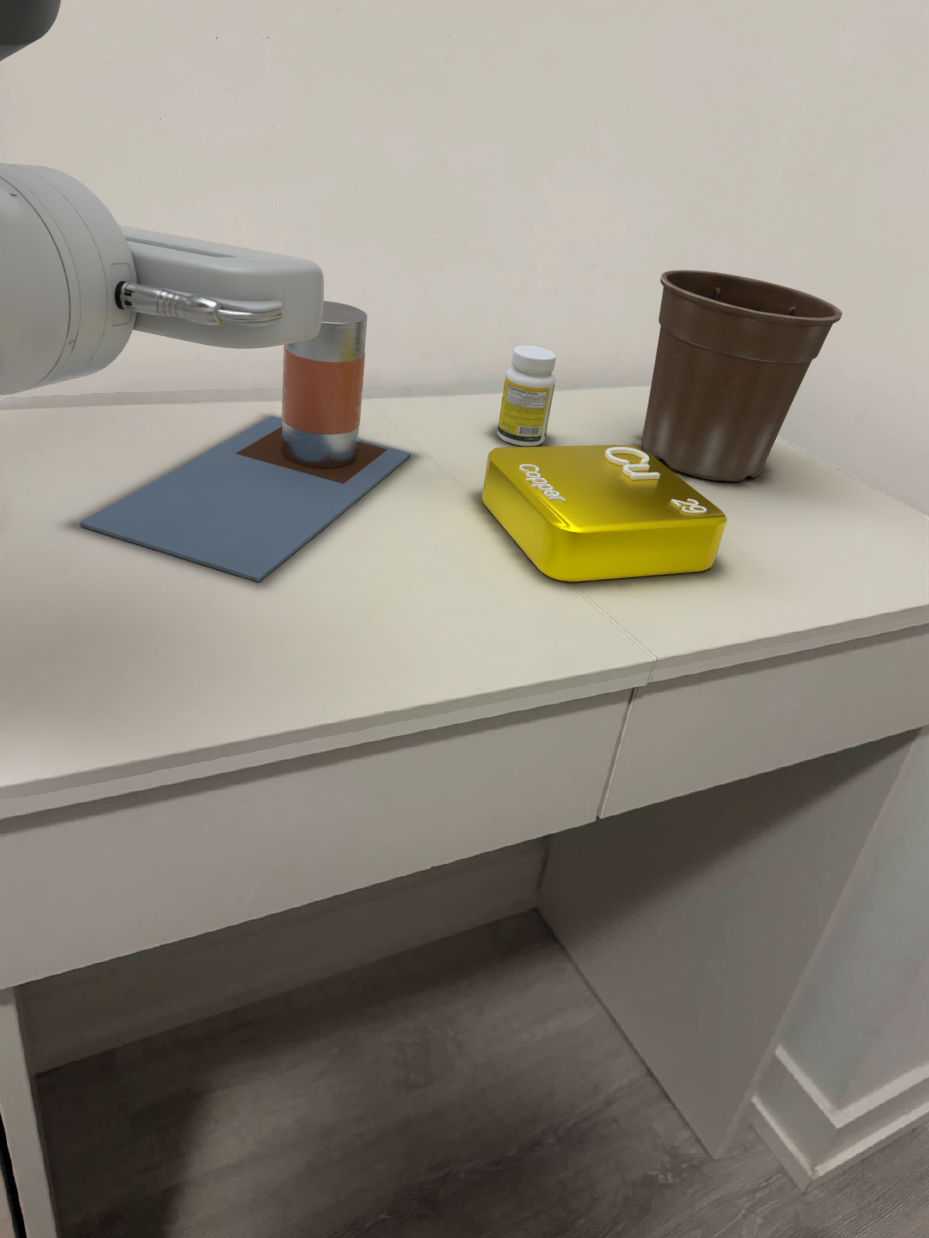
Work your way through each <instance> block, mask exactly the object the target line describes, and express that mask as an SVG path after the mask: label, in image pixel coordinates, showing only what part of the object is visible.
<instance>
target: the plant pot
mask: <svg viewBox="0 0 929 1238" xmlns="http://www.w3.org/2000/svg"><path fill="white" fill-rule="evenodd" d="M659 281H660V284H661V285H662V294H661V300H660V308H659V313H658V315H659V316H658V323H659V325H660V328H659V333H658V334H659V335H658V340H657V346H656V353H655V361H654V365H653V366H654V367H653V370H652V371H653V372H652V376H651V377H652V378H651V384H650V388H649V395H648V401H647V407H646V412H645V418H644V423H643V429H642V434H641V438H640V439H641V440H640V443H641V447H642V449H643V450H644V451H646V452H647V453H649V454H651V455H652V456H653V457H654V458H656V459H657V460H660V459H662V460H663V462H665V464H666V465H667V466H668V468H669V469H671V470H675V471H678V472H681V473H683V474H684V473H685V474H687V475H691V476H692V477H695V478H699V479H703V480H704V479H705V480H711V481H723V482H741V481H743V480H744V479H746V478H747V477H749V478H751V479H755V478H757V477H758V476H759V475H760V474H761V473H762V472H763V469H764V467H765V465H766V462H767V460H768V458H769V456H770V453H771V451H772V448H773V446H774V444H775V442H776V439H777V437H778V435H779V433H780V430H781V428H782V426H783V424H784V422H785V420H786V418H787V416H788V413H789V411H790V408H791V407H792V404H793V402H794V400H795V397H796V396H797V394H798V391H799V389H800V387H801V385H802V383H803V381H804V379H805V376H806V374H807V372H808V370H809V368H810V366H811V363H812V362H813V360H814V359H816V358H818V357H819V355H820V352H821V350H822V348H823V346H824V344H825V341H826V340H827V337H828V335H829V333H830V331H831V329H832V327H833V325H834V324H836V323H838V322H839V321H840V320H841V318H842V316H843V312H842V310H841V309H840V308H839V307H838V306H836V305H834V304H833V303H831V302H828V301H827V300H825V299H822V298H820V297H817V296H815V295H813V294H811V293H808V292H806V291H805V292H804V291H802V290H799V289H795V288H791V287H788V286H784V285H781V284H777V283H773V282H769V281H766V280H765V281H764V280H761V279H756V278H751V277H747V276H740V275H735V274H732V273H731V274H730V273H724V272H717V271H710V270H698V269H697V270H695V269H680V270H678V269H677V270H676V269H675V270H667V271H664V272H662V273H661V275H660V279H659Z"/></svg>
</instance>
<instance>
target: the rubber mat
mask: <svg viewBox="0 0 929 1238" xmlns="http://www.w3.org/2000/svg"><path fill="white" fill-rule="evenodd" d="M410 457H412V452H409V451H405V450H400V449H397V448H393V447H389V446H386V445H382V444H380V443H379V444H378V443H375V442H371V441H367V440H363V439H359V438H358V449H357V458H356V460H355V461H354V462H353V463H351V464H349V465H347V466H343V467H338V468H313V467H307V466H303V465H299V464H297V463H294V462H292V461H290V460H288V459H287V458H286V457H285V456H284V455H283V454H282V417H277V416H274V415H271V416H269V417H267V418H266V419H264V420H262V421H259V422H258V423H256V424H255V425H253V426H250V427H249V428H248V429H245V430H244V431H242V432H240V433H238V434H236V435H235V436H233V437H231V438H229V439H227V440H225V441H224V442H222V443H220V444H219V445H216V446H215V447H213V448H211V449H209V450H207V451H205V452H204V453H202V454H201V455H199V456H196V457H195V458H193V459H192V460H190V461H188V462H186V463H185V464H183V465H181V466H179V467H177V468H176V469H173V470H172V471H170V472H167V473H166V474H164V475H163V476H161V477H159V478H157V479H156V480H154V481H152V482H150V483H148V484H146V485H144V486H143V487H141V488H139V489H138V490H136V491H134V492H131V494H128V495H126V496H125V497H123V498H121V499H120V500H118V501H115V502H114V503H112V504H110V505H109V506H107V507H105V508H103V509H102V510H99V511H98V512H95V513H94V514H92V515H90V516H89V517H87V518H85V519H84V520H81V521H80V522H79V526H80V527H81V528H85V529H88V530H92V531H94V532H98V533H100V534H104V535H107V536H110V537H114V538H117V539H120V540H124V541H126V542H130V543H133V544H136V545H140V546H143V547H146V548H149V549H152V550H155V551H159V552H161V553H165V554H168V555H170V556H174V557H178V558H181V559H184V560H187V561H190V562H192V563H193V562H194V563H197V564H200V565H203V566H206V567H210V568H213V569H216V570H219V571H222V572H226V573H229V574H232V575H234V576H237V577H241V578H245V579H248V580H251V581H255V582H256V583H257V582H258V583H260V582H262V580H264V579H265V578H266V577H267V576H269V575H270V574H271V573H272V572H273V571H275V570H276V569H277V568H278V567H280V566H281V564H283V563H285V562H286V560H288V559H289V558H290V557H292V555H294V554H295V553H296V552H297V551H299V550H300V549H301V548H302V547H303V546H304V545H306V544H307V543H309V541H310V540H312V539H313V538H314V537H316V536H317V535H318V534H319V533H320V532H321V531H323V530H324V529H325V528H326V527H328V526H329V525H330V524H331V523H332V522H334V521H335V520H336V519H338V518H339V517H340V516H341V515H342V514H343V513H344V512H345V511H347V510H348V509H349V508H350V507H352V506H353V505H354V504H356V502H358V500H360V499H361V498H362V497H364V496H365V495H366V494H367V493H368V492H370V491H371V490H372V489H373V488H374V487H376V486H377V485H378V484H379V483H381V482H382V481H383V480H384V479H385V478H387V476H389V475H390V474H391V473H392V472H393V471H395V470H396V469H397V468H399V467H400V466H401V465H402V464H403V463H405V462H406V461H407V460H408V459H409V458H410Z"/></svg>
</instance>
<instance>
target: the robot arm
mask: <svg viewBox="0 0 929 1238" xmlns="http://www.w3.org/2000/svg"><path fill="white" fill-rule="evenodd" d="M61 3H62V0H0V62H1V61H4V60H5V59H7V58H9V57H10V56H12V55H14V54H16V53H18V52H19V51H21V50H23V49H24V48H27V47H28V46H30V45H31V44H33V43H35V42H36V41H38V40H40V39H41V38H43V37H44V36H45V35H46V34H47V33H49V31H50V30H51V28H52V27H53V25H54V24H55V22H56V20H57V18H58V15H59V12H60V9H61ZM324 299H325V278H324V272H323V269H322V267H321V266H320V265H319V264H317V263H316V262H315V261H312V260H309V259H306V258H302V257H296V256H291V255H286V254H280V253H274V252H270V251H264V250H258V249H254V248H247V247H241V246H236V245H232V244H225V243H220V242H216V241H215V242H214V241H209V240H203V239H198V238H194V237H187V236H181V235H176V234H170V233H166V232H159V231H156V230H155V231H154V230H149V229H143V228H138V227H132V226H127V225H121V224H119V223H118V221H117V220H116V218H115V217H114V215H113V214H112V212H111V211H110V210H109V208H108V207H107V206H106V205H105V204H104V202H103V201H102V200H101V199H100V198H99V197H98V196H97V194H95V193H94V192H93V190H91V189H90V188H89V187H87V186H86V184H83V183H82V182H81V181H80V180H77V179H76V178H74V177H73V176H71V175H69V174H67V173H65V172H64V171H60V170H58V169H56V168H52V167H48V166H43V165H35V164H17V163H6V162H5V163H4V162H3V163H2V162H0V397H1V396H2V397H3V396H8V395H15V394H18V393H19V394H20V393H22V392H26V391H30V390H35V389H38V388H42V387H46V386H50V385H55V384H58V383H59V384H60V383H63V382H66V381H67V382H68V381H71V380H76V379H80V378H83V377H87V376H90V375H93V374H96V373H98V372H100V371H102V370H103V369H105V368H107V367H108V366H109V365H111V364H112V363H113V362H114V361H115V360H116V359H117V358H118V357H119V356H120V354H121V353H122V352H123V351H124V349H125V348H126V346H127V344H128V342H129V340H130V338H131V335H132V333H133V331H136V332H142V333H145V334H151V335H156V336H160V337H165V338H169V339H174V340H179V341H184V342H188V343H194V344H199V345H202V346H203V345H204V346H209V347H216V348H223V349H224V348H225V349H238V350H240V349H241V350H250V349H264V348H265V349H266V348H271V347H277V346H284V345H285V344H291V343H296V342H302V341H306V340H310V339H312V338H314V337H316V336H317V334H318V333H319V330H320V326H321V320H322V313H323V302H324V301H325V300H324Z"/></svg>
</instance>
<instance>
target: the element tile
mask: <svg viewBox="0 0 929 1238" xmlns="http://www.w3.org/2000/svg"><path fill="white" fill-rule="evenodd" d="M483 479H484V480H483V485H482V492H481V501H482V503H483V504H484V505H485V507H486V508H487V509H488V511H489V512H490V513H491V514H492V515H493V517H494V518H495V519H496V520H497V521H498V523H499V524H500V525H501V526H502V528H504V530H505V531H506V532H507V534H509V536H510V537H511V538H512V539H513V540H514V542H515V543H516V544H517V545H518V546H519V547H520V549H521V550H522V551H523V552H524V554H525V555H526V556H527V557H528V558H529V559H530V561H531V562H532V563H533V564H534V565H535V566H536V568H537V569H538V570H539V571H540V572H541V573H543V574H544V575H545V576H547V577H549V578H550V579H554V580H557V581H561V582H568V583H569V582H574V583H576V582H577V583H578V582H586V581H587V582H588V581H600V580H612V579H613V580H614V579H625V578H638V577H647V576H648V577H649V576H661V575H673V574H674V575H675V574H685V573H698V572H703V571H706V570H709V569H710V568H712V567H713V565H714V563H715V561H716V557H717V554H718V552H719V548H720V545H721V541H722V538H723V535H724V532H725V530H726V526H727V522H728V517H727V515H726V514H725V512H724V511H723V510H722V509H721V508H719V507H718V506H717V505H715V504H714V503H713V502H712V501H710V500H709V499H708V498H707V497H705V496H704V495H703V494H701V493H700V492H699V491H698V490H696V489H695V488H694V487H693V486H691V485H690V484H689V483H688V482H686V481H685V480H684V479H683V478H681V477H680V476H678V475H677V474H676V473H675V472H674V471H672V469H671V468H669V467H667V466H666V465H665V464H664V463H662V462H661V461H660V460H659V459H656V458H654V457H653V456H652V455H651V454H649V453H647V452H646V451H645V450H644V449H643V448H641V447H640V446H637V445H632V444H608V445H607V444H605V445H555V446H553V445H552V446H551V445H550V446H549V445H548V446H547V445H546V446H503V447H502V446H499V447H495V448H493V449H491V450H490V451H489V452H488V454H487V459H486V467H485V473H484V478H483Z"/></svg>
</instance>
